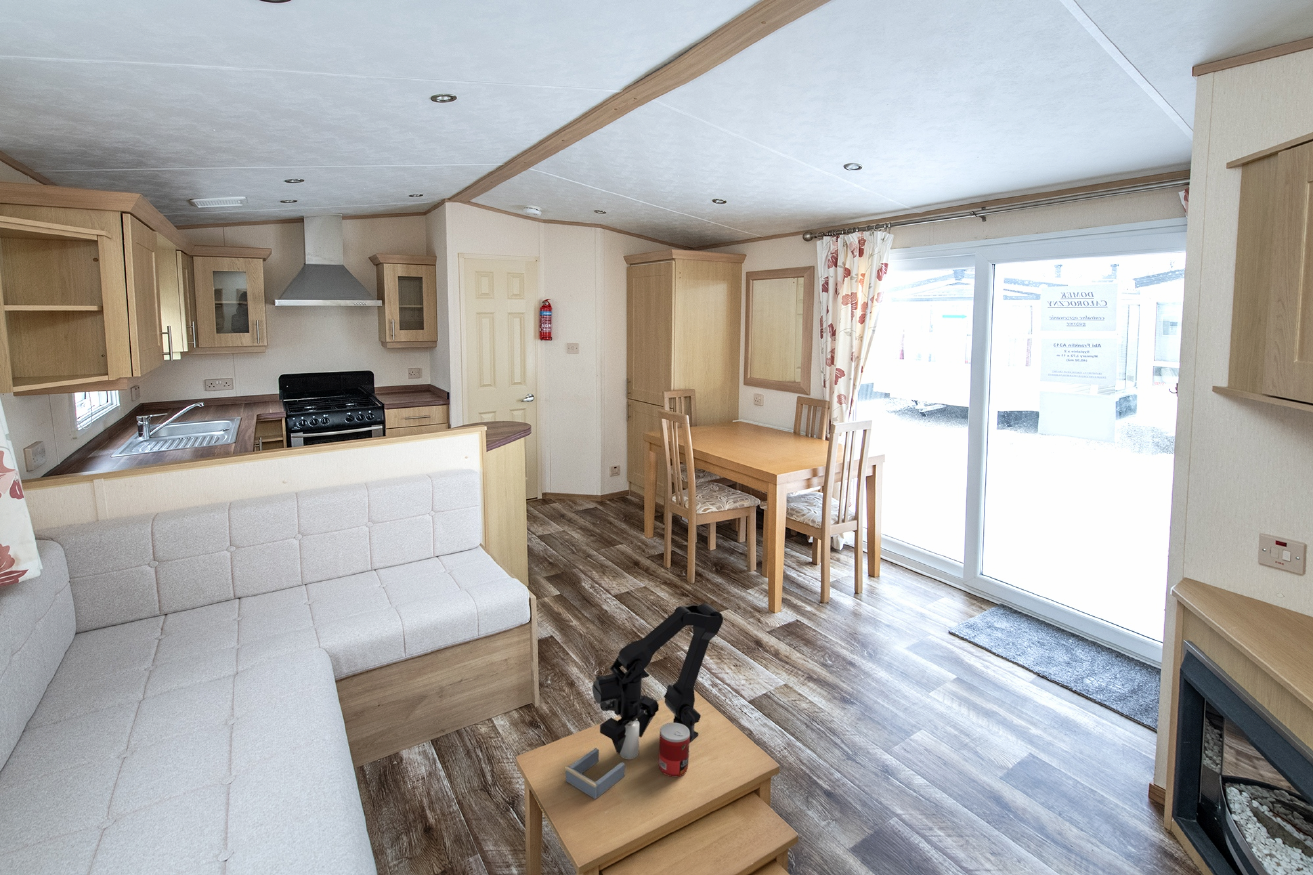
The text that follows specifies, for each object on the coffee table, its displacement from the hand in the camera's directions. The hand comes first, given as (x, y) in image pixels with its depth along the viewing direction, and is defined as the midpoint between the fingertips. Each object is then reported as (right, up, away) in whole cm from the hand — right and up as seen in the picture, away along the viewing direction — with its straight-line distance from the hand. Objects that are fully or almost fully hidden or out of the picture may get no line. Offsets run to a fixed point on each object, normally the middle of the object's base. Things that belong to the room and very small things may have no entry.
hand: (629, 744), depth 187 cm
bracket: (-8, -4, -10) cm, 13 cm away
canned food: (+12, -4, -5) cm, 14 cm away
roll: (0, -3, +1) cm, 2 cm away
